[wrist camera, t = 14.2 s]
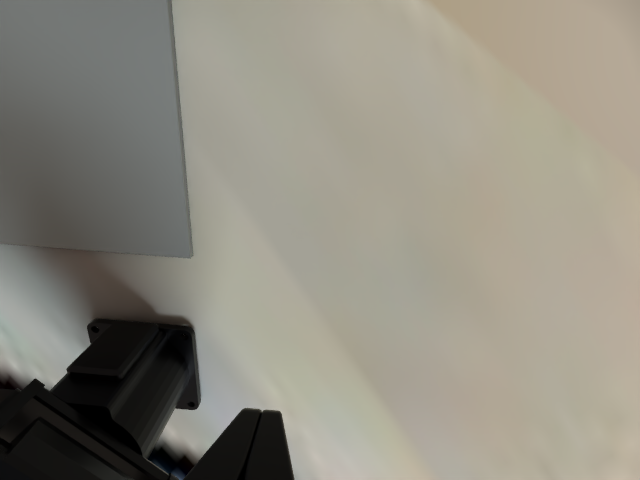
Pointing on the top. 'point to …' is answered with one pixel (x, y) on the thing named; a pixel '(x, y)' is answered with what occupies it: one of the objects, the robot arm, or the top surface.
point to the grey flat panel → (92, 128)
